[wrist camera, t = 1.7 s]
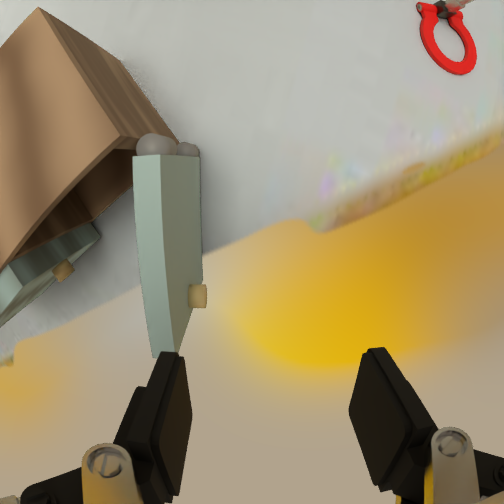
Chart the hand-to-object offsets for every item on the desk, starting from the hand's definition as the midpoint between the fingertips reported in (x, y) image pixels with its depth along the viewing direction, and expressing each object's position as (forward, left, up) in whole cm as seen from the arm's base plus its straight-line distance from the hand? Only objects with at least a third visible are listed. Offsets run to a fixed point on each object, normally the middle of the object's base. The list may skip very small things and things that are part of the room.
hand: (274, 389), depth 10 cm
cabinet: (-13, +16, -22) cm, 29 cm away
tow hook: (+32, +7, -22) cm, 40 cm away
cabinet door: (-3, +5, -21) cm, 22 cm away
